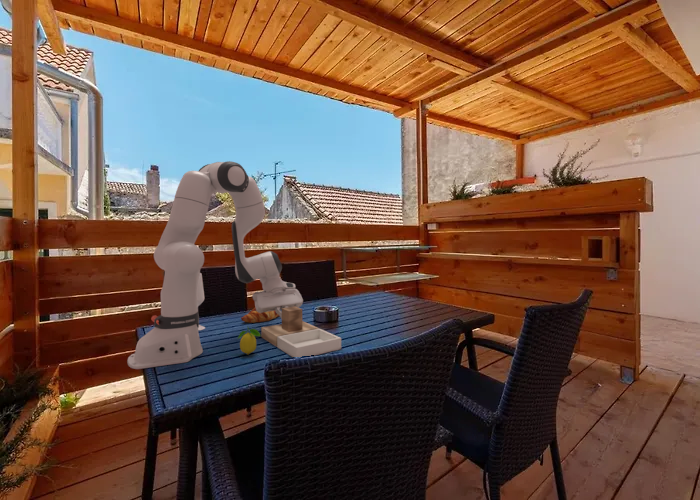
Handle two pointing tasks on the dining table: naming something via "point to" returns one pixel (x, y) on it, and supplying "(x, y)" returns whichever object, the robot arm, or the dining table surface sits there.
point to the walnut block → (292, 319)
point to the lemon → (248, 340)
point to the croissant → (259, 316)
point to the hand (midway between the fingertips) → (284, 317)
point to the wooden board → (281, 332)
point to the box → (308, 343)
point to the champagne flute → (200, 295)
